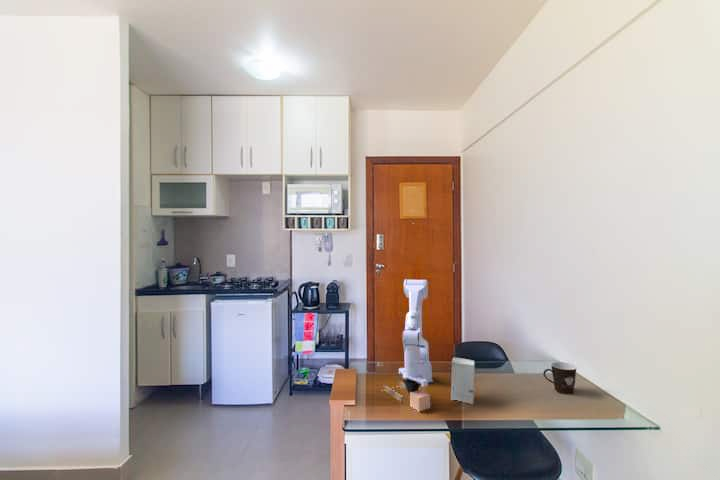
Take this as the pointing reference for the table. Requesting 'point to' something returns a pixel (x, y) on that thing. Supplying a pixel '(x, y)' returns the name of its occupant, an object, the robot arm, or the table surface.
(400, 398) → the chute
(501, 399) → the table surface
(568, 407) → the table surface
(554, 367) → the coffee mug
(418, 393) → the block
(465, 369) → the skincare box
